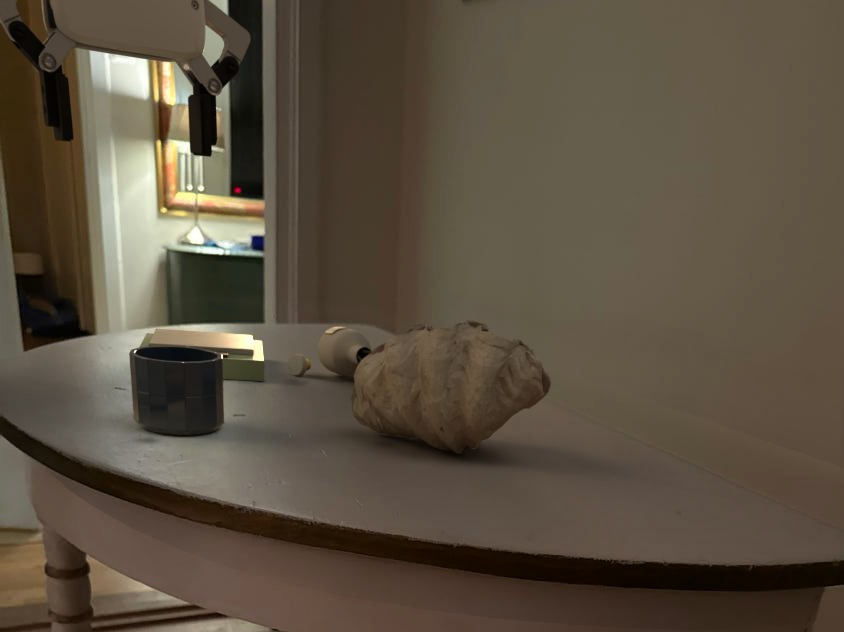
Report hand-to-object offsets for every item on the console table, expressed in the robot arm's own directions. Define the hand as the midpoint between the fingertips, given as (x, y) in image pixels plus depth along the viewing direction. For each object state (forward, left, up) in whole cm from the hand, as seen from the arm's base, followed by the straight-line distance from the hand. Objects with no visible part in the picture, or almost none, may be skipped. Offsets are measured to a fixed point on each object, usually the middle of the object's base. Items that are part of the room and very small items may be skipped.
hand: (135, 148), depth 66 cm
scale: (+3, +22, -19) cm, 29 cm away
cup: (+2, -3, -19) cm, 20 cm away
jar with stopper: (+19, +13, -20) cm, 30 cm away
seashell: (+23, -6, -20) cm, 31 cm away
